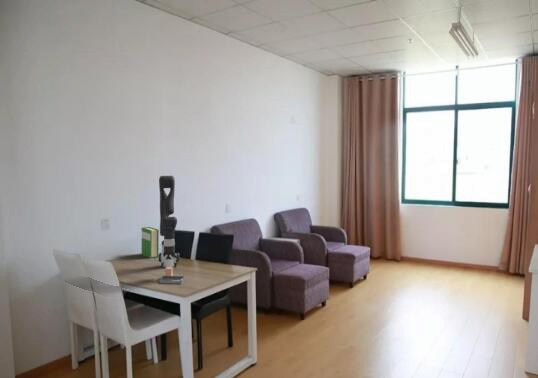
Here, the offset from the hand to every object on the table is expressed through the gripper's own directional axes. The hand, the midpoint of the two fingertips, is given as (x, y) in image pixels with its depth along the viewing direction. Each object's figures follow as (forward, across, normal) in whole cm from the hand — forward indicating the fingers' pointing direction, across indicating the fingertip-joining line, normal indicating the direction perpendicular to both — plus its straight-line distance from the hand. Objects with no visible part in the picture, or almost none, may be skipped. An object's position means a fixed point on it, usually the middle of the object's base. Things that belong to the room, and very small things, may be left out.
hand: (169, 267), depth 278 cm
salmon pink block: (+7, 0, 0) cm, 7 cm away
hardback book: (+6, +33, -65) cm, 74 cm away
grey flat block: (+8, -4, +10) cm, 13 cm away
